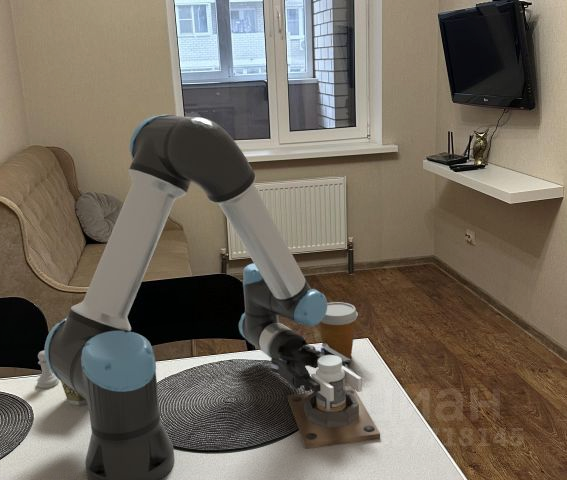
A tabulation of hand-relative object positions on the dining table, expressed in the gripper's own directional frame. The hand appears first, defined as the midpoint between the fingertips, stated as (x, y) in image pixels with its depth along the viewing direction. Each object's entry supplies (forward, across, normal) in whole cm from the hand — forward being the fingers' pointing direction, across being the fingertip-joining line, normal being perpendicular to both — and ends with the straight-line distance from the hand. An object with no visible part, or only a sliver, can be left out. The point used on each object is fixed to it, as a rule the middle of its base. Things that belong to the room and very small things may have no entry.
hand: (346, 389), depth 121 cm
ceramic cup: (-40, +40, -9) cm, 57 cm away
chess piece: (-52, +45, -9) cm, 69 cm away
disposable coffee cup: (-27, -16, -9) cm, 33 cm away
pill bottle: (-5, 0, -6) cm, 8 cm away
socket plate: (-5, 0, -8) cm, 10 cm away
